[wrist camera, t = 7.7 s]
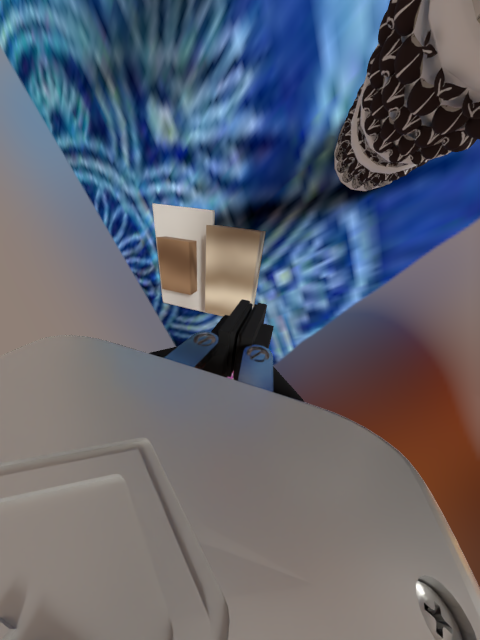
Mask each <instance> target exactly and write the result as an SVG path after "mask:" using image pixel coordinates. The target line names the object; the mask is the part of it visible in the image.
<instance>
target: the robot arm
mask: <svg viewBox="0 0 480 640" xmlns="http://www.w3.org/2000/svg"><path fill="white" fill-rule="evenodd" d="M252 306H253V304H251V303H250V301H248V300H243V299H242V300H241V301H240V302H239V304H238V305H237V306H236V308H235V309H234V310H233V312H232V313H231V314H230V316H229V315H224V316H223V318H222V319H221V320H220V321H219V323H218V324H217V325H216V326H215V328H214V329H213V330H212V331H211V332H206V331H204V332H198V333H196V334H194V335H193V336H191V337H190V338H189V339H187V340H186V341H185V342H184V343H182V344H181V345H180V346H178V347H174V348H170V349H165V350H160V351H156V352H152V353H146V352H142V351H139V350H136V349H132V348H129V347H126V346H123V345H119V344H116V343H112V342H108V341H104V340H101V339H96V338H91V337H84V336H70V335H69V336H54V337H47V338H44V339H40V340H38V341H35V342H32V343H30V344H27V345H25V346H23V347H20V348H18V349H15V350H13V351H11V352H9V353H6V354H4V355H2V356H0V640H480V588H479V586H478V583H477V582H476V580H475V578H474V575H473V573H472V571H471V569H470V567H469V565H468V563H467V561H466V559H465V557H464V555H463V553H462V551H461V549H460V546H459V545H458V542H457V540H456V538H455V537H454V535H453V533H452V531H451V529H450V527H449V525H448V523H447V521H446V519H445V517H444V515H443V514H442V512H441V510H440V508H439V506H438V505H437V503H436V501H435V499H434V497H433V496H432V494H431V492H430V490H429V489H428V487H427V486H426V484H425V483H424V481H423V479H422V478H421V477H420V475H419V474H418V472H417V471H416V469H415V468H414V467H413V466H412V465H411V463H410V462H409V461H408V460H407V459H406V458H405V457H404V456H403V455H402V454H401V453H400V452H399V451H398V450H397V449H395V448H394V447H393V446H392V445H390V444H389V443H388V442H386V441H385V440H384V439H382V438H381V437H379V436H378V435H376V434H375V433H373V432H371V431H370V430H368V429H367V428H365V427H363V426H361V425H359V424H358V423H356V422H354V421H351V420H350V419H348V418H345V417H343V416H341V415H338V414H336V413H334V412H331V411H328V410H325V409H322V408H320V407H316V406H314V405H311V404H308V403H305V402H304V401H303V399H302V398H301V397H300V396H299V395H298V394H297V392H296V391H295V390H294V389H293V388H292V387H291V386H290V385H289V384H288V383H287V381H286V380H285V379H284V378H283V377H282V376H281V375H280V373H279V372H278V371H277V370H276V369H275V368H274V367H273V355H272V353H271V351H270V350H269V349H268V348H269V344H270V340H271V336H272V331H273V327H274V326H271V325H267V324H263V323H264V318H265V313H266V308H267V305H266V304H261V303H258V305H256V304H255V305H254V307H253V309H252ZM233 371H234V372H233ZM232 373H233V378H234V379H229V378H227V377H231V375H232Z"/></svg>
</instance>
